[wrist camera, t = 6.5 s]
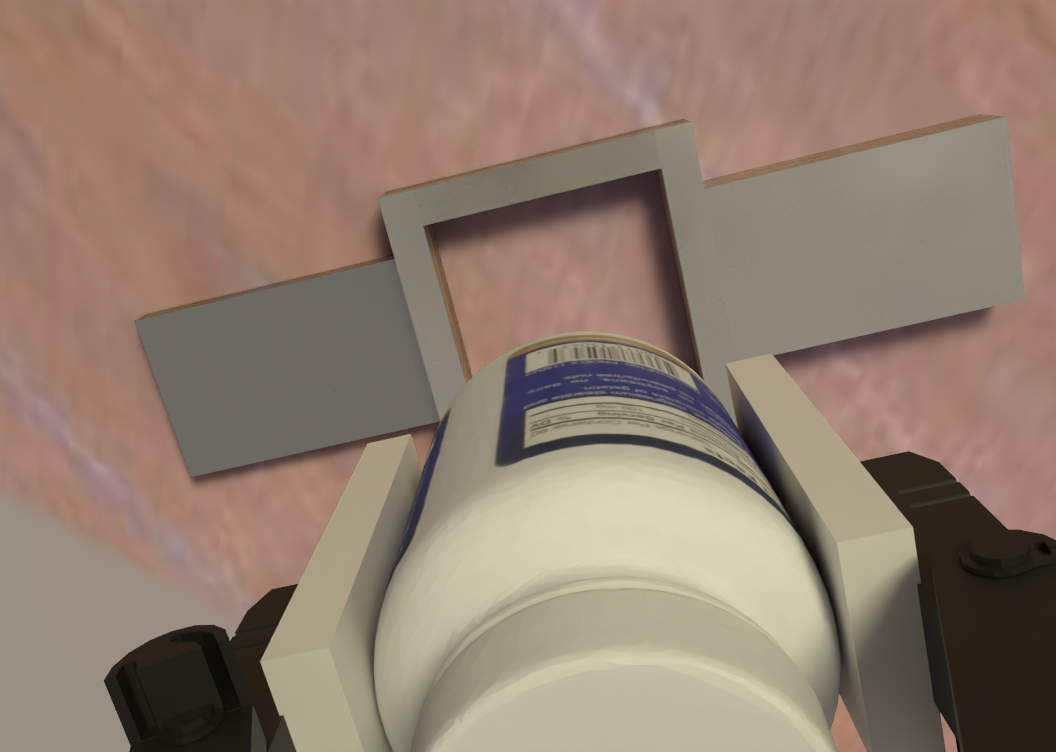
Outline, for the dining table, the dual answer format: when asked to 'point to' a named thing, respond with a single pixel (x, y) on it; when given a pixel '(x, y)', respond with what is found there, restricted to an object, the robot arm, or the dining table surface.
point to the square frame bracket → (701, 261)
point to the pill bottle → (601, 571)
